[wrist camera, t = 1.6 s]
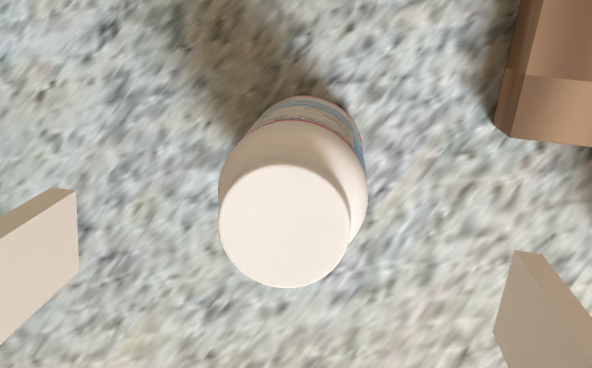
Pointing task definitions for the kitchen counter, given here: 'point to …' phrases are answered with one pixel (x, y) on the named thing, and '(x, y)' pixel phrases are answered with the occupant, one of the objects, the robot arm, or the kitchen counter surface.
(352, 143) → the pill bottle
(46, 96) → the kitchen counter surface
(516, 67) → the socket block
